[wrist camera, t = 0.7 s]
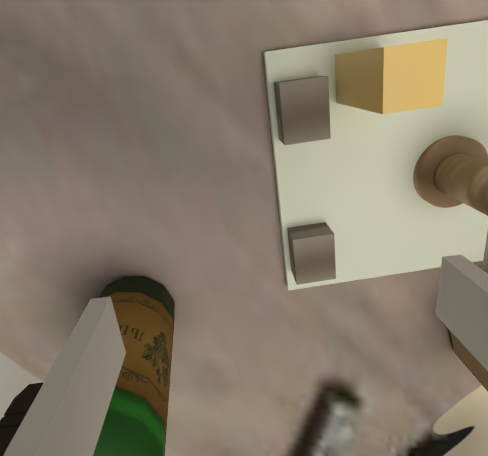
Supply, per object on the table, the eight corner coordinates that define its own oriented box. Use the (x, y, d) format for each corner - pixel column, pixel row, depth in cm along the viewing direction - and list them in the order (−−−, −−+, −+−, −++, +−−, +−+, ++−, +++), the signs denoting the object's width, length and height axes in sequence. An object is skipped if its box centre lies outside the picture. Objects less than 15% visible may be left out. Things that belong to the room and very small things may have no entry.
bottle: (196, 280, 41) (166, 634, 15) (171, 353, 44) (111, 740, 19) (98, 254, 39) (-132, 614, 13) (80, 333, 42) (-128, 737, 17)
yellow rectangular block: (334, 54, 32) (383, 47, 23) (380, 48, 32) (447, 38, 23) (336, 103, 33) (382, 114, 24) (379, 96, 33) (442, 105, 24)
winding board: (263, 52, 32) (264, 51, 31) (507, 17, 33) (517, 15, 32) (286, 284, 42) (288, 290, 41) (476, 255, 42) (483, 260, 41)
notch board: (273, 82, 32) (279, 83, 30) (318, 75, 32) (328, 76, 30) (291, 270, 40) (296, 284, 37) (327, 264, 40) (336, 278, 37)
